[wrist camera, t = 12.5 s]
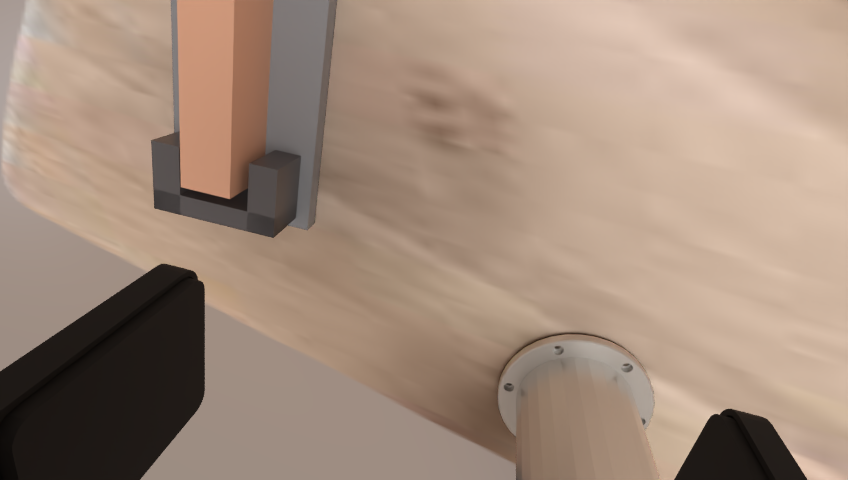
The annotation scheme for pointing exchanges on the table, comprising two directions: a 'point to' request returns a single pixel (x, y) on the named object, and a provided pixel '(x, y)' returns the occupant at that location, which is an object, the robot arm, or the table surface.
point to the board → (292, 89)
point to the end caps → (249, 210)
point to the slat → (222, 91)
